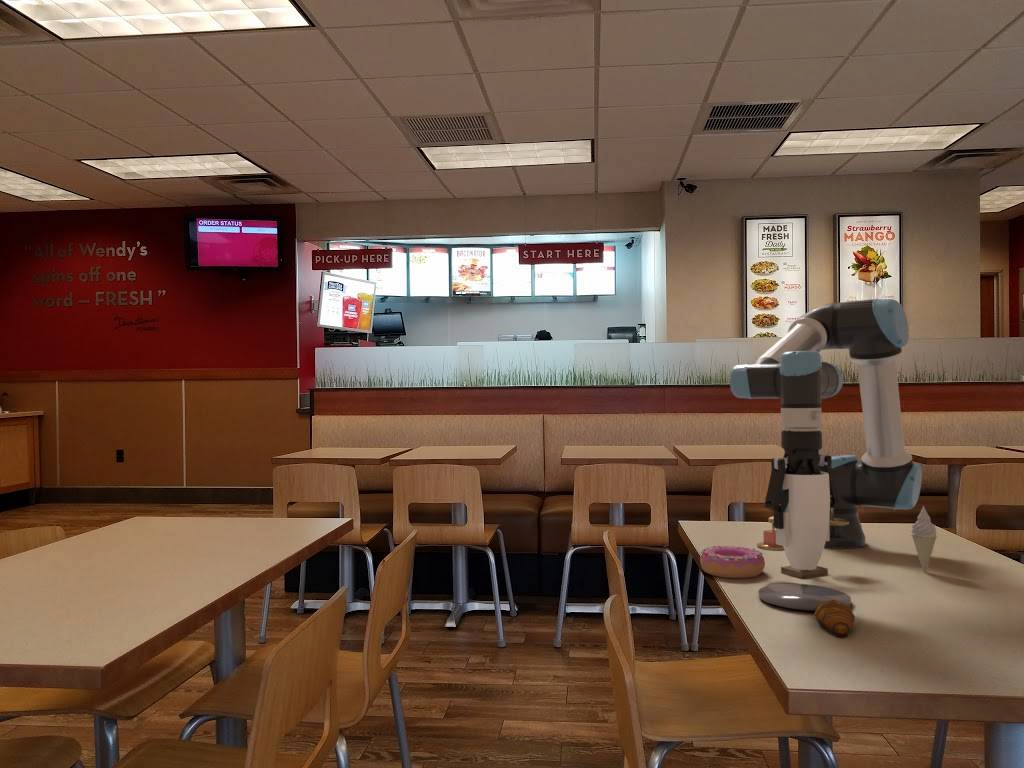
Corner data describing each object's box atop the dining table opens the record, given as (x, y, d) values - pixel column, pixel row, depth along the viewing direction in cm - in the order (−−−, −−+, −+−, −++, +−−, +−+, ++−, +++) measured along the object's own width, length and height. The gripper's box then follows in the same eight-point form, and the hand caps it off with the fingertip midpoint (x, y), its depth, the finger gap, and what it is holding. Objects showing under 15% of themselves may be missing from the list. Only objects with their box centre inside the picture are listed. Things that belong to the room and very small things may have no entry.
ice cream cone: (936, 570, 172) (935, 504, 172) (938, 575, 168) (937, 507, 168) (911, 568, 174) (910, 503, 174) (912, 573, 170) (911, 506, 170)
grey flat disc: (740, 596, 154) (740, 590, 154) (802, 585, 161) (802, 579, 161) (805, 618, 138) (805, 612, 138) (871, 606, 146) (870, 599, 146)
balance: (774, 583, 163) (772, 502, 163) (750, 576, 169) (749, 498, 169) (856, 570, 174) (855, 494, 174) (831, 563, 180) (830, 490, 180)
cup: (806, 591, 143) (804, 476, 143) (764, 579, 152) (762, 471, 152) (844, 584, 147) (842, 473, 147) (801, 573, 157) (799, 468, 157)
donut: (775, 571, 174) (775, 549, 174) (747, 584, 164) (746, 560, 164) (718, 562, 184) (718, 541, 184) (687, 573, 173) (687, 551, 173)
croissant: (864, 641, 127) (864, 611, 127) (821, 639, 128) (821, 609, 128) (845, 617, 140) (845, 590, 140) (807, 615, 141) (806, 588, 141)
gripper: (772, 432, 141) (773, 552, 141) (857, 428, 151) (859, 540, 151) (743, 430, 148) (745, 544, 148) (827, 426, 158) (829, 533, 158)
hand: (802, 542), depth 150 cm, fingers closed on cup, 10 cm apart
